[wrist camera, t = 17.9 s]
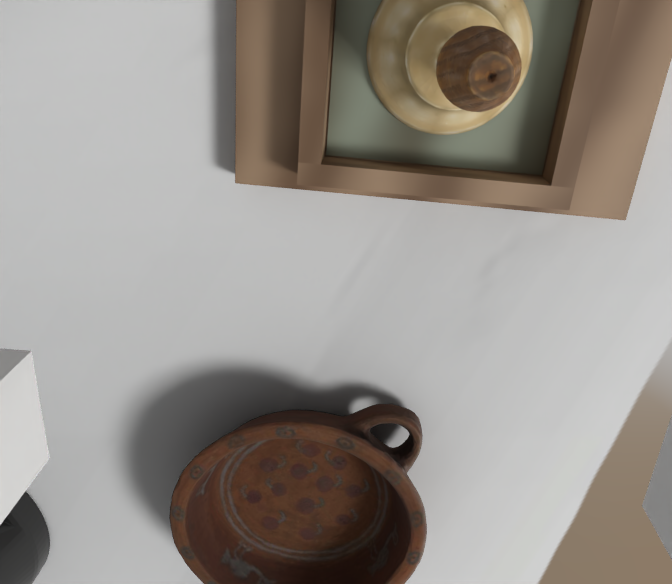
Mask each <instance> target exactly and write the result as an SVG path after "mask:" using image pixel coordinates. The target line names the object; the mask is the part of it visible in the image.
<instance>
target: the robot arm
mask: <svg viewBox="0 0 672 584" xmlns="http://www.w3.org/2000/svg"><path fill="white" fill-rule="evenodd" d="M49 459H50V457H49V451H48V445H47V440H46V434H45V428H44V422H43V416H42V410H41V404H40V398H39V393H38V387H37V381H36V375H35V369H34V363H33V357H32V351H25V350H12V349H0V584H32V583H33V581H34V580H35V578H36V577H37V575H38V573H39V572H40V570H41V569H42V567H43V565H44V564H45V562H46V560H47V557H48V554H49V547H50V538H49V532H48V528H47V525H46V522H45V520H44V517H43V515H42V513H41V512H40V510H39V508H38V507H37V505H36V504H35V502H34V501H33V500H32V499H31V497H30V496H29V495H28V494H27V493H26V492H25V491H26V490H27V488H28V487H29V486H30V484H31V483H32V482H33V480H34V479H35V478H36V476H37V475H38V473H39V472H40V471H41V469H42V468H43V467H44V465H45V464H46V463H47V461H48V460H49ZM642 506H643V508H644V510H645V512H646V514H647V516H648V517H649V519H650V521H651V523H652V525H653V526H654V528H655V530H656V532H657V534H658V536H659V537H660V539H661V541H662V543H663V545H664V547H665V548H666V550H667V552H668V554H669V556H670V557H671V559H672V416H671V419H670V422H669V425H668V428H667V431H666V435H665V438H664V441H663V444H662V447H661V450H660V453H659V456H658V459H657V462H656V465H655V468H654V471H653V474H652V477H651V480H650V483H649V486H648V490H647V492H646V496H645V499H644V502H643V505H642Z"/></svg>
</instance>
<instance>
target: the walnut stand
mask: <svg viewBox="0 0 672 584" xmlns="http://www.w3.org/2000/svg"><path fill="white" fill-rule="evenodd" d="M381 1H382V0H236V147H235V183H240V184H250V185H261V186H271V187H282V188H292V189H303V190H313V191H324V192H334V193H345V194H355V195H366V196H376V197H387V198H397V199H408V200H418V201H429V202H439V203H450V204H461V205H471V206H482V207H492V208H503V209H513V210H524V211H534V212H545V213H555V214H566V215H576V216H587V217H597V218H608V219H618V220H626V217H627V213H628V210H629V206H630V203H631V199H632V196H633V192H634V189H635V185H636V181H637V178H638V174H639V171H640V167H641V164H642V160H643V157H644V153H645V150H646V146H647V143H648V139H649V136H650V132H651V129H652V125H653V122H654V118H655V114H656V111H657V107H658V104H659V100H660V97H661V93H662V90H663V86H664V83H665V79H666V76H667V72H668V69H669V65H670V62H671V58H672V0H523V1H524V3H525V5H526V7H527V10H528V13H529V16H530V20H531V24H532V32H533V50H532V57H531V62H530V65H529V69H528V72H527V75H526V77H525V79H524V82H523V84H522V86H521V88H520V89H519V91H518V92H517V94H516V95H515V97H514V98H513V100H512V101H511V102H510V103H509V104H508V106H507V107H506V108H505V109H504V110H503V111H502V112H501V113H499V114H498V115H497V116H496V117H494V118H493V119H491V120H490V121H488V122H487V123H485V124H484V125H482V126H480V127H477V128H475V129H473V130H470V131H467V132H463V133H458V134H451V135H438V134H430V133H425V132H422V131H419V130H416V129H413V128H411V127H409V126H407V125H406V124H404V123H402V122H401V121H400V120H398V119H397V118H396V117H395V116H393V115H392V114H391V113H390V112H389V111H388V110H387V109H386V107H385V106H384V105H383V103H382V102H381V100H380V99H379V97H378V96H377V94H376V92H375V90H374V87H373V85H372V82H371V79H370V76H369V72H368V66H367V41H368V34H369V30H370V26H371V23H372V20H373V18H374V15H375V13H376V11H377V9H378V6H379V5H380V3H381Z"/></svg>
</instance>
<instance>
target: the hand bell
mask: <svg viewBox="0 0 672 584" xmlns="http://www.w3.org/2000/svg"><path fill="white" fill-rule="evenodd" d="M532 50H533V32H532V24H531V20H530V16H529V13H528V10H527V7H526V5H525V3H524V1H523V0H382V1H381V3H380V5H379V6H378V9H377V11H376V13H375V15H374V18H373V20H372V23H371V26H370V30H369V34H368V41H367V66H368V72H369V76H370V79H371V82H372V85H373V87H374V90H375V92H376V94H377V96H378V97H379V99H380V100H381V102H382V103H383V105H384V106H385V107H386V109H387V110H388V111H389V112H390V113H391V114H392V115H393V116H395V117H396V118H397V119H398V120H400V121H401V122H402V123H404V124H406V125H407V126H409V127H411V128H413V129H416V130H419V131H422V132H425V133H430V134H438V135H451V134H458V133H463V132H467V131H470V130H473V129H475V128H477V127H480V126H482V125H484V124H485V123H487V122H488V121H490V120H491V119H493V118H494V117H496V116H497V115H498V114H499V113H501V112H502V111H503V110H504V109H505V108H506V107H507V106H508V104H509V103H510V102H511V101H512V100H513V98H514V97H515V95H516V94H517V92H518V91H519V89H520V88H521V86H522V84H523V82H524V79H525V77H526V75H527V72H528V69H529V65H530V62H531V57H532Z"/></svg>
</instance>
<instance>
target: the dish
mask: <svg viewBox="0 0 672 584" xmlns="http://www.w3.org/2000/svg"><path fill="white" fill-rule="evenodd" d="M386 423H394V424H398V425H401V426H403V427H404V428H405V429H407V430H408V432H409V434H410V435H409V437H408V439H407V440H406V441H405V442H404V443H403V444H402V445H400V446H399V447H395V448H391V447H388V446H387V445H385V444H384V443H382V442H381V441H380V440H379V439H378V438H376V437H375V436H374V435H373V434H371V433H370V429H371V428H372V427H373V426H376V425H379V424H386ZM421 445H422V429H421V424H420V421H419V418H418V417H417V416H416V414H415V413H414V412H412V411H411V410H409V409H406V408H404V407H401V406H397V405H393V404H376V405H372V406H370V407H367V408H365V409H362V410H360V411H358V412H355V413H353V414H350V415H348V416H337V415H333V414H328V413H323V412H317V411H306V410H290V411H281V412H276V413H271V414H268V415H264V416H261V417H258V418H255V419H253V420H251V421H249V422H247V423H245V424H243V425H242V426H240V427H239V428H237V429H235V430H234V431H232V432H231V433H229V434H227V435H225V436H223V437H222V438H220V439H218V440H217V441H215V442H214V443H212V444H211V445H209V446H208V447H206V448H205V449H204V450H202V451H201V452H200V453H199V454H198V455H197V456H196V457H195V458H194V459H193V460H192V461H191V462H190V463H189V464H188V465H187V467H186V468H185V469H184V471H183V472H182V474H181V475H180V478H179V480H178V483H177V485H176V487H175V489H174V491H173V495H172V501H171V506H170V523H171V530H172V534H173V539H174V543H175V545H176V547H177V549H178V551H179V553H180V554H181V556H182V558H183V559H184V561H185V563H186V564H187V565H188V567H189V568H190V569H191V570H192V571H193V573H194V574H195V575H196V576H197V577H198V578H199V579H200V580H201V581H202V582H203V583H204V584H404V583H405V582H406V581H407V580H408V579H409V578H410V576H411V575H412V574H413V572H414V571H415V569H416V567H417V565H418V564H419V563H420V560H421V557H422V555H423V552H424V547H425V542H426V534H427V524H426V516H425V510H424V506H423V503H422V500H421V498H420V496H419V494H418V492H417V490H416V488H415V487H414V485H413V483H412V482H411V480H410V479H409V477H408V475H407V472H408V470H409V469H410V468H411V466H412V465H413V463H414V462H415V460H416V458H417V456H418V455H419V452H420V449H421Z"/></svg>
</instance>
